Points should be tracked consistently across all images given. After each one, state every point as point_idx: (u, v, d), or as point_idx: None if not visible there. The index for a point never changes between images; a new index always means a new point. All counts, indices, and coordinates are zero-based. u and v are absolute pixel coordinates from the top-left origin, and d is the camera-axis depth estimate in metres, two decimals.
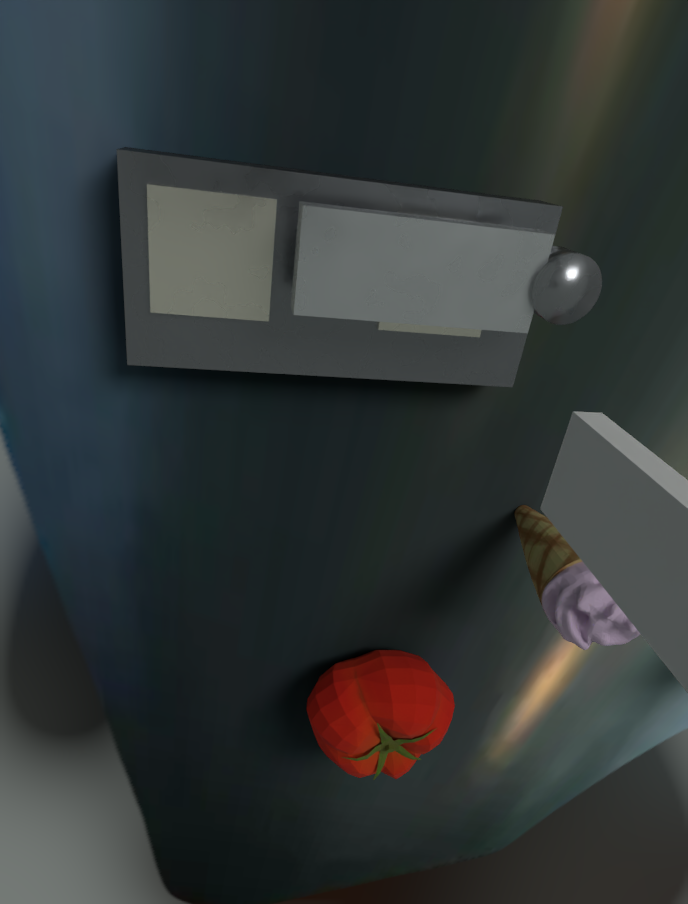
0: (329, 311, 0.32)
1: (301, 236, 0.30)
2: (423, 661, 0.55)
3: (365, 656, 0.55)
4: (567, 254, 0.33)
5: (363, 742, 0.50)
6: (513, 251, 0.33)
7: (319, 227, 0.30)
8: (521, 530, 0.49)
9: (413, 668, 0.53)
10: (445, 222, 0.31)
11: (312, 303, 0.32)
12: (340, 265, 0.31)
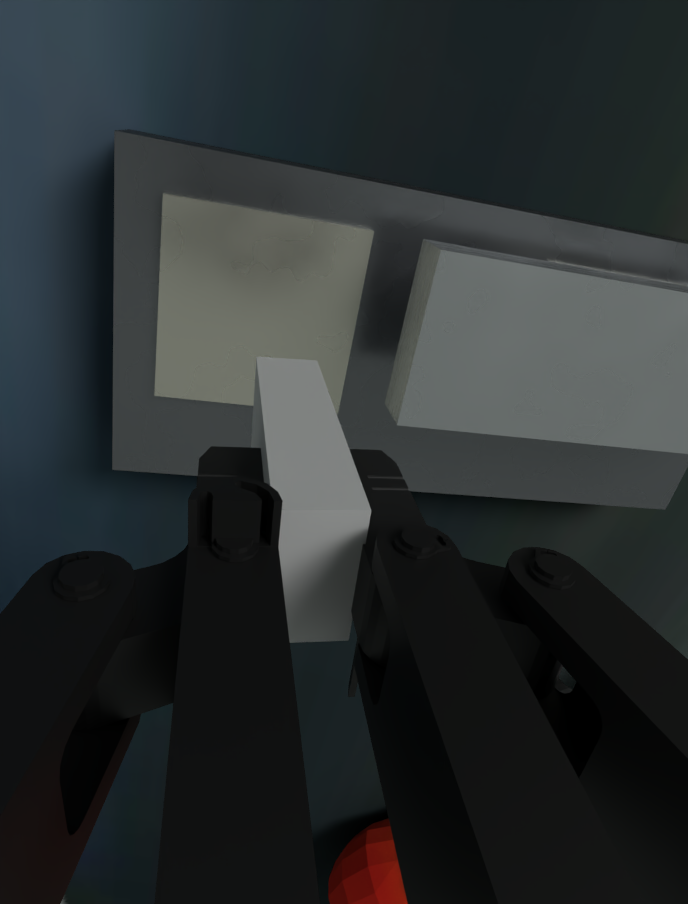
0: (454, 421, 0.20)
1: (429, 301, 0.17)
2: None
3: None
4: None
5: None
6: None
7: (462, 287, 0.17)
8: None
9: None
10: (664, 289, 0.19)
11: (430, 408, 0.19)
12: (485, 351, 0.19)
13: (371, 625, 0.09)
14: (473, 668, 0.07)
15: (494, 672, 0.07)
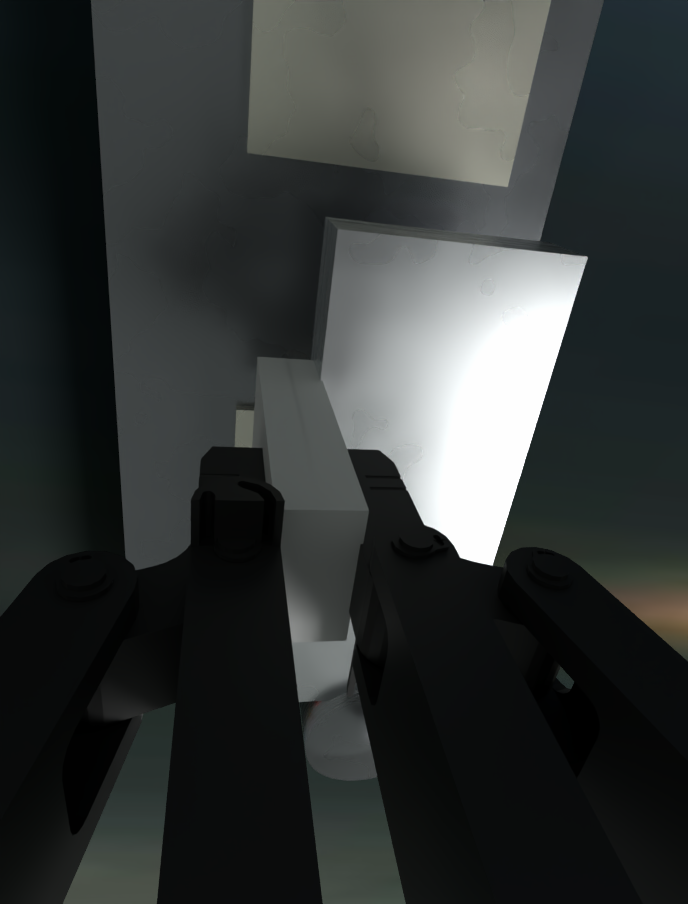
0: (342, 325, 0.13)
1: (524, 252, 0.13)
2: None
3: None
4: None
5: None
6: None
7: (536, 296, 0.13)
8: None
9: None
10: (499, 535, 0.17)
11: (365, 282, 0.12)
12: (448, 347, 0.13)
13: (369, 625, 0.09)
14: (471, 668, 0.07)
15: (492, 672, 0.07)
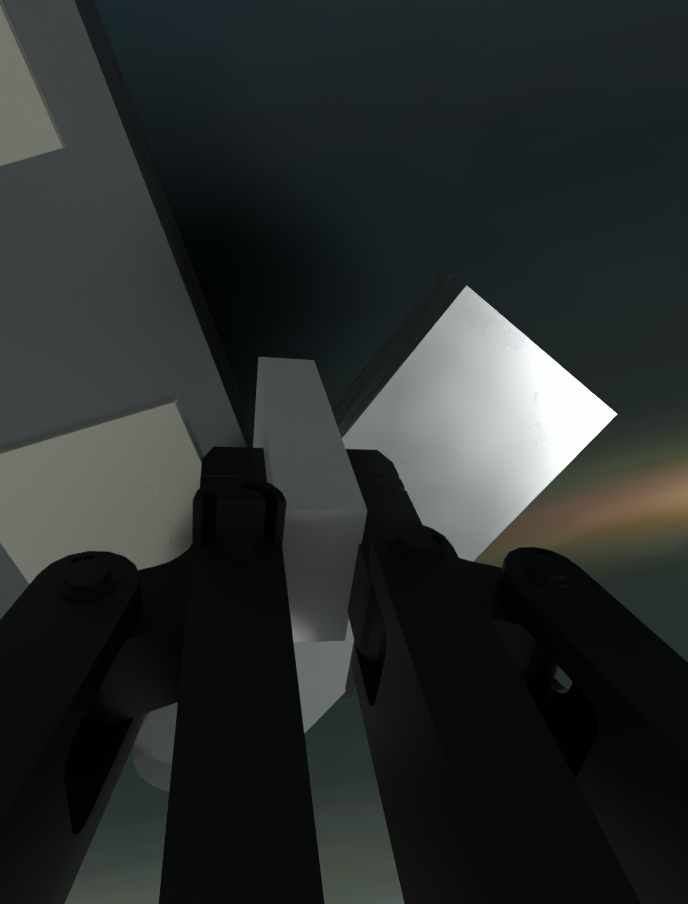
0: (420, 363, 0.14)
1: (579, 385, 0.15)
2: None
3: None
4: None
5: None
6: (313, 684, 0.18)
7: (568, 423, 0.15)
8: None
9: None
10: None
11: (459, 339, 0.14)
12: (485, 426, 0.15)
13: (368, 625, 0.09)
14: (470, 668, 0.07)
15: (491, 672, 0.07)
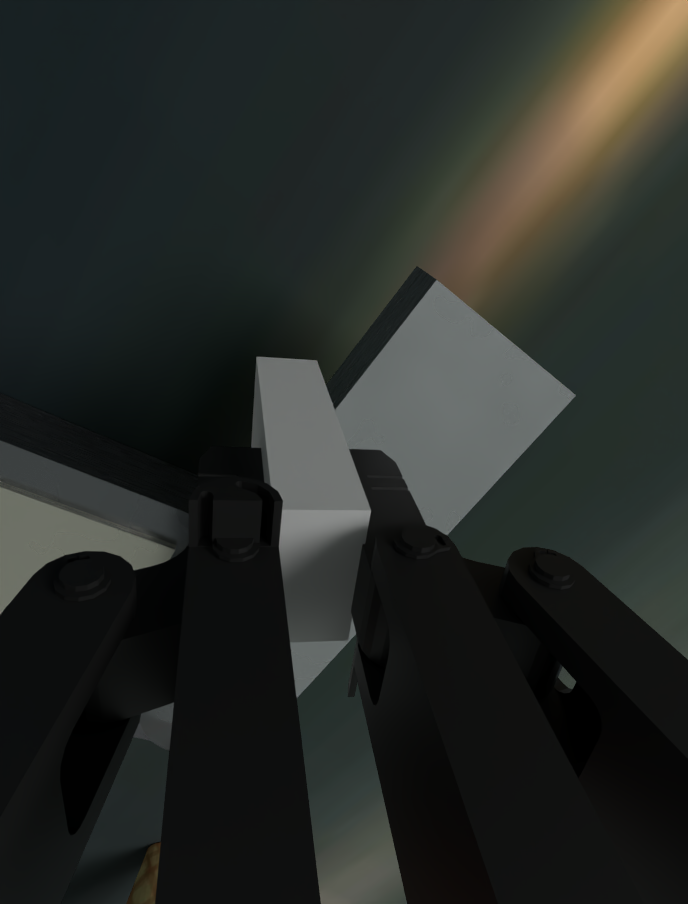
0: (397, 349, 0.15)
1: (540, 369, 0.16)
2: None
3: None
4: None
5: None
6: (306, 649, 0.20)
7: (531, 403, 0.17)
8: (128, 901, 0.33)
9: None
10: None
11: (431, 327, 0.15)
12: (457, 407, 0.17)
13: (371, 625, 0.09)
14: (473, 668, 0.07)
15: (494, 672, 0.07)
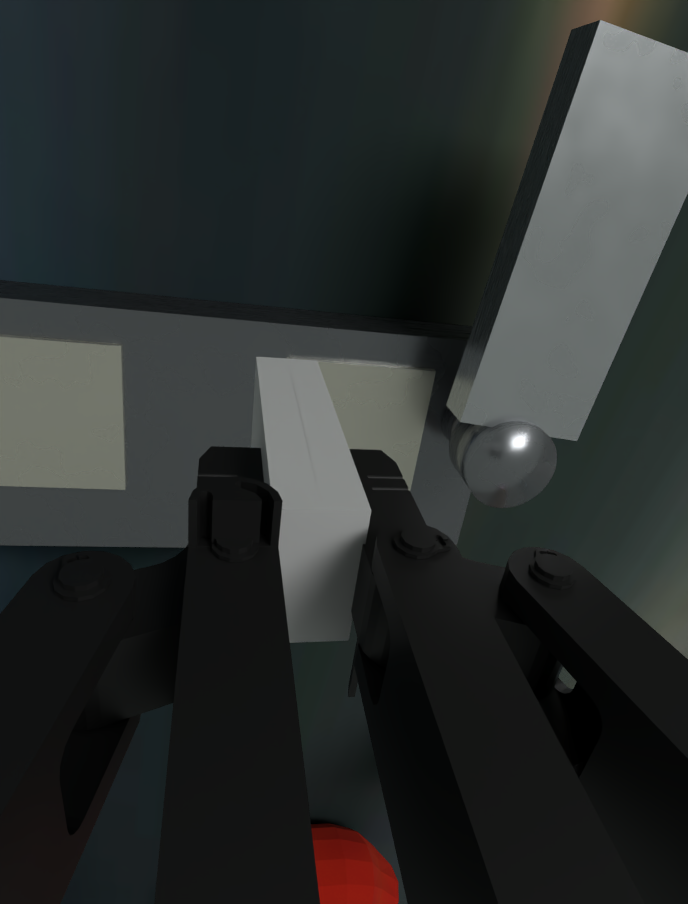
0: (584, 93, 0.19)
1: None
2: (361, 843, 0.45)
3: None
4: None
5: None
6: (575, 390, 0.25)
7: None
8: None
9: (346, 857, 0.43)
10: (639, 295, 0.23)
11: (606, 63, 0.19)
12: (643, 125, 0.20)
13: (371, 625, 0.09)
14: (473, 668, 0.07)
15: (494, 672, 0.07)
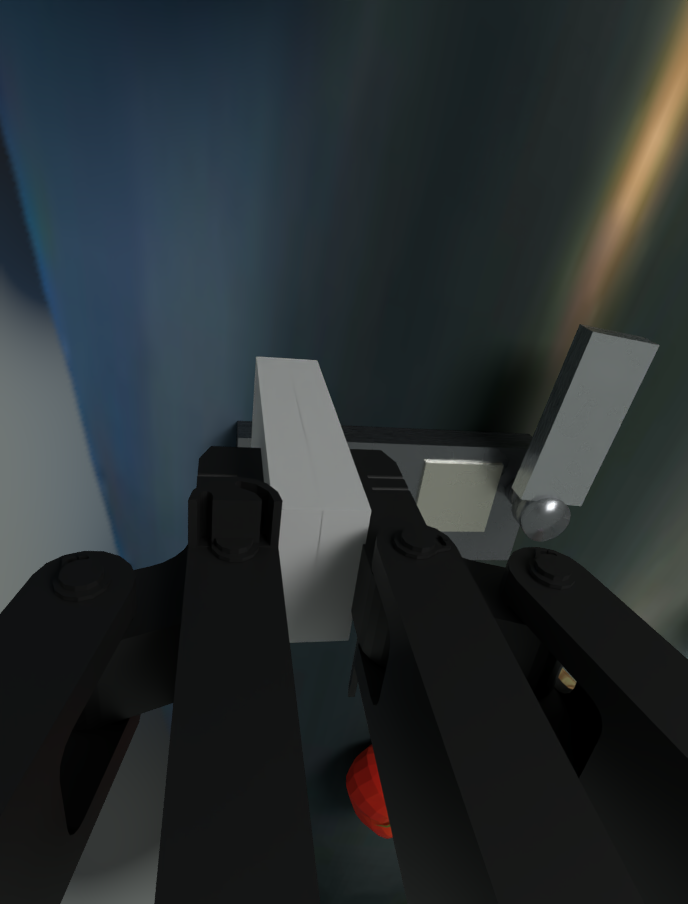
0: (585, 359, 0.42)
1: (641, 342, 0.42)
2: None
3: None
4: None
5: None
6: (580, 482, 0.47)
7: (642, 355, 0.43)
8: None
9: None
10: (613, 437, 0.46)
11: (595, 347, 0.42)
12: (613, 368, 0.43)
13: (371, 625, 0.09)
14: (473, 668, 0.07)
15: (494, 672, 0.07)
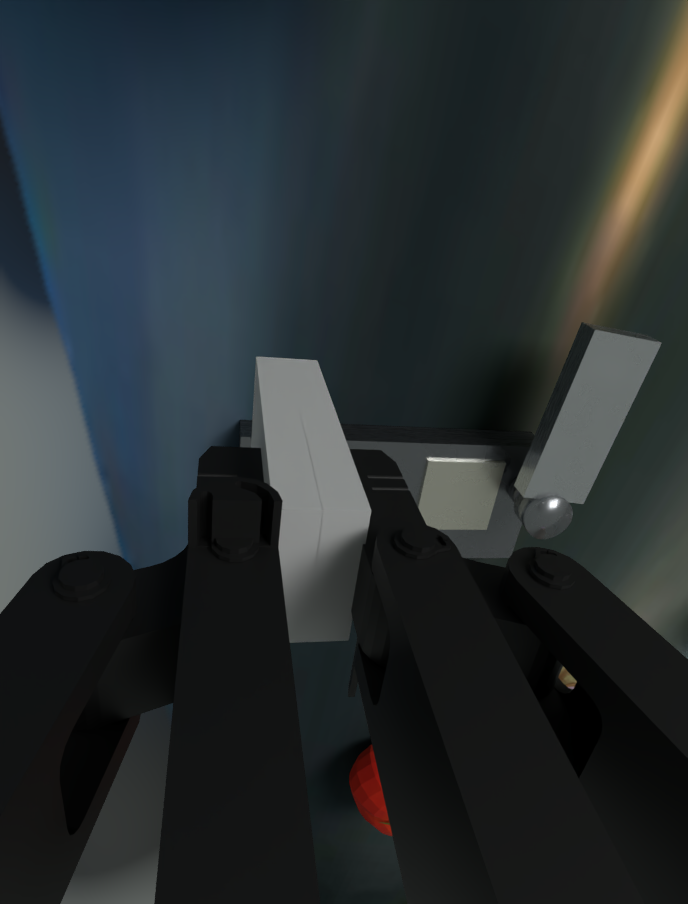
0: (588, 356, 0.42)
1: (643, 340, 0.42)
2: None
3: None
4: None
5: None
6: (582, 480, 0.47)
7: (644, 353, 0.43)
8: None
9: None
10: (615, 435, 0.46)
11: (598, 344, 0.42)
12: (615, 366, 0.43)
13: (371, 625, 0.09)
14: (473, 668, 0.07)
15: (494, 672, 0.07)
